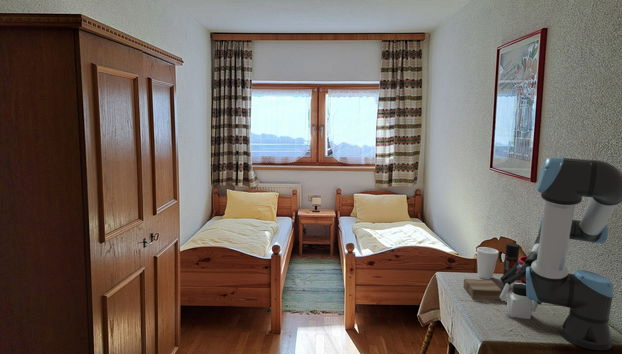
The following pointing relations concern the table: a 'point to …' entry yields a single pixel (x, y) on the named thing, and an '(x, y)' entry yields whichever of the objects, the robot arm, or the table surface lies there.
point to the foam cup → (486, 262)
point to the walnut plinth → (482, 289)
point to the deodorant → (510, 256)
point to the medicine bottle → (519, 302)
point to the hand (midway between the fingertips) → (516, 304)
